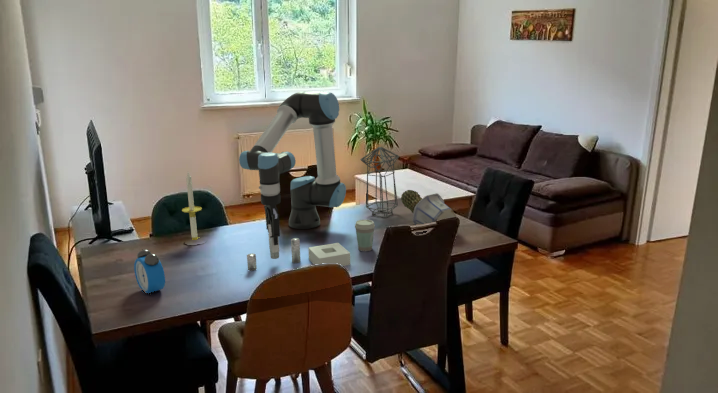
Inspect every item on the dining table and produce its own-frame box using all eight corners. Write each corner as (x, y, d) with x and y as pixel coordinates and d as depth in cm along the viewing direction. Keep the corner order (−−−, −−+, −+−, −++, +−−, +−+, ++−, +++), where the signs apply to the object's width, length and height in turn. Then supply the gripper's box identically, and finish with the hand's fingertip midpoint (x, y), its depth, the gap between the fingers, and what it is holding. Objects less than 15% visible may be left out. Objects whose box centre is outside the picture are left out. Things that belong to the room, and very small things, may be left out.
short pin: (247, 268, 222) (245, 254, 220) (255, 267, 223) (254, 252, 221) (249, 271, 219) (247, 257, 217) (257, 270, 220) (256, 255, 218)
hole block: (308, 259, 230) (308, 247, 229) (338, 253, 235) (338, 242, 234) (319, 270, 219) (319, 258, 217) (350, 264, 224) (350, 253, 222)
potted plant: (464, 202, 254) (421, 175, 275) (434, 211, 244) (392, 182, 265) (457, 235, 262) (416, 206, 283) (428, 245, 253) (388, 214, 274)
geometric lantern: (387, 221, 276) (385, 151, 267) (360, 216, 285) (357, 148, 275) (403, 212, 289) (401, 145, 280) (377, 208, 298) (374, 143, 288)
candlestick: (178, 244, 249) (171, 172, 240) (193, 237, 258) (186, 167, 249) (197, 247, 246) (190, 174, 237) (211, 239, 254) (204, 169, 246)
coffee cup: (373, 253, 236) (373, 225, 232) (353, 251, 237) (352, 224, 234) (376, 245, 244) (376, 219, 240) (357, 244, 245) (356, 218, 242)
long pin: (269, 256, 225) (267, 223, 221) (277, 255, 226) (275, 222, 222) (271, 259, 222) (269, 226, 218) (280, 258, 223) (278, 224, 219)
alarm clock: (136, 288, 206) (131, 249, 202) (152, 283, 210) (148, 245, 206) (151, 299, 196) (146, 259, 192) (168, 294, 200) (163, 254, 196)
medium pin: (291, 260, 229) (289, 238, 226) (299, 259, 230) (298, 237, 227) (293, 263, 226) (292, 241, 223) (301, 262, 227) (300, 240, 224)
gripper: (255, 189, 222) (260, 244, 229) (266, 200, 208) (270, 259, 214) (274, 186, 225) (277, 241, 232) (285, 197, 210) (289, 255, 217)
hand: (274, 249), depth 223 cm, fingers closed on long pin, 3 cm apart
